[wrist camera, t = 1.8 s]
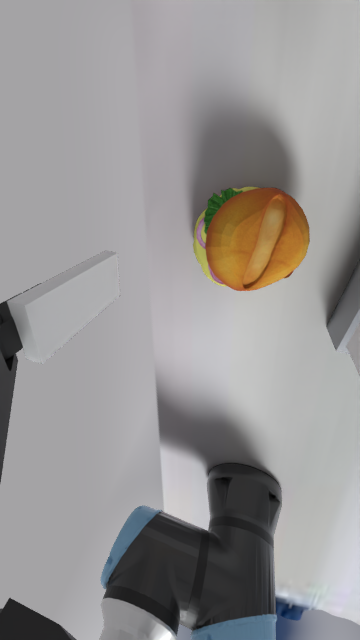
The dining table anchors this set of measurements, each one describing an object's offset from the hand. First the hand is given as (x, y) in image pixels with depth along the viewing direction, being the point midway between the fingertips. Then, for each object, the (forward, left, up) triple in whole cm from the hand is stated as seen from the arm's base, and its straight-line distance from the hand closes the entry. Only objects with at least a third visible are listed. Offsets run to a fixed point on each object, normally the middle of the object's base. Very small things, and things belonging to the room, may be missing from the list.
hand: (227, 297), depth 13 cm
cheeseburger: (0, 0, -18) cm, 18 cm away
